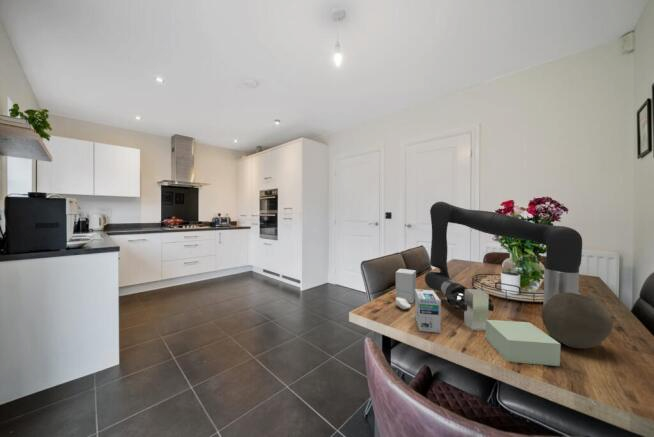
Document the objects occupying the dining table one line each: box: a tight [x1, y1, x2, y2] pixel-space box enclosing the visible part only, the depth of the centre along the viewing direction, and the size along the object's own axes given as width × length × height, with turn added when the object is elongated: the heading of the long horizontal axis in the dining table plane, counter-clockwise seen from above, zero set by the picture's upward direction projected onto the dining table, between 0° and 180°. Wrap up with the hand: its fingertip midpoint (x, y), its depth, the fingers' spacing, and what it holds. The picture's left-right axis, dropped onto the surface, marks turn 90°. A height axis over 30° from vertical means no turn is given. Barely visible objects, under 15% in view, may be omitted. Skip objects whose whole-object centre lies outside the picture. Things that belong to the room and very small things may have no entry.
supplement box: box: [395, 268, 417, 304], centre depth 109 cm, size 7×7×13 cm
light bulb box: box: [414, 288, 442, 334], centre depth 85 cm, size 11×7×11 cm, turn 168°
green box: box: [485, 319, 562, 367], centre depth 69 cm, size 12×12×6 cm
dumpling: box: [395, 297, 412, 311], centre depth 99 cm, size 7×5×4 cm
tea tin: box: [463, 288, 490, 331], centre depth 83 cm, size 5×5×12 cm
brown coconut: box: [541, 292, 614, 350], centre depth 72 cm, size 14×14×15 cm
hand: (479, 308), depth 81 cm, fingers open, 8 cm apart
